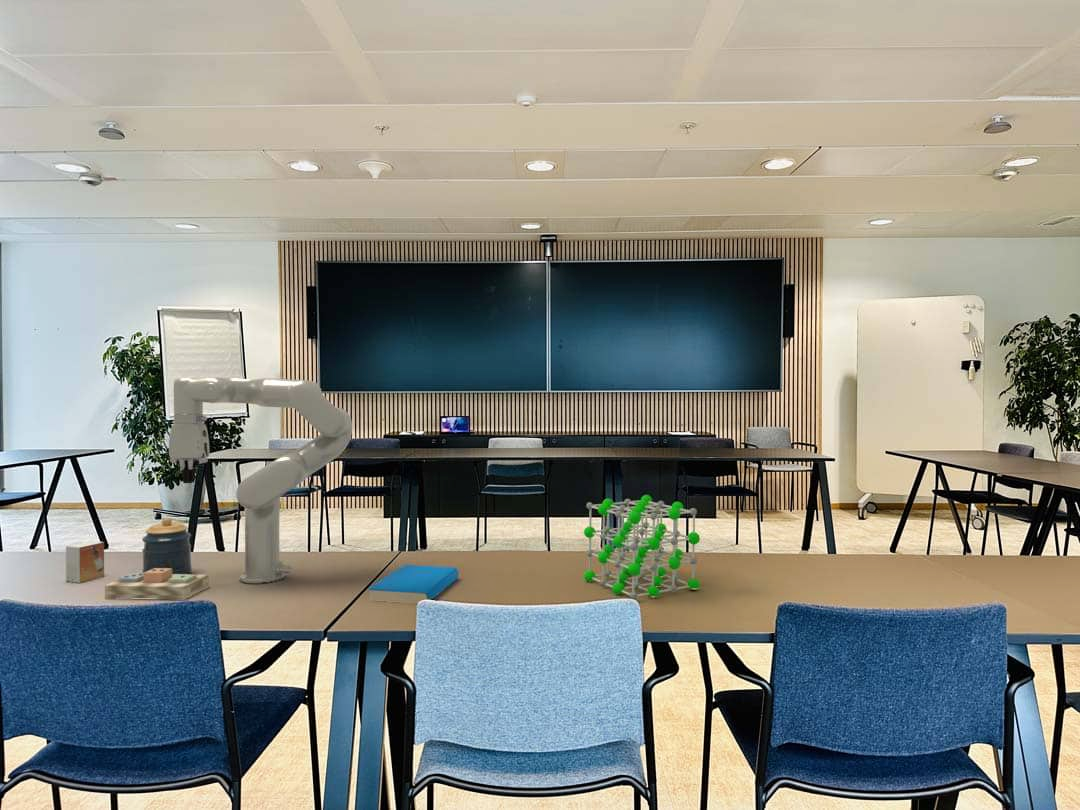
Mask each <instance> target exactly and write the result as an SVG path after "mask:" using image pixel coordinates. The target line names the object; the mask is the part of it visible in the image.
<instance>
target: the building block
mask: <svg viewBox="0 0 1080 810" xmlns="http://www.w3.org/2000/svg"><path fill="white" fill-rule="evenodd" d="M118 580H119V582H128V583H137V582H140V581H142V580H144V574H143V573H138V574H137V573H132V572H131V573H129V574H127V575H126V574H125V575H124V576H121V577H119V578H118Z"/></svg>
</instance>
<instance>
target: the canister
mask: <svg viewBox="0 0 1080 810" xmlns="http://www.w3.org/2000/svg"><path fill="white" fill-rule="evenodd" d="M188 529H189V527H188V526H187V525H185V524H183V523H181V522H173V521H172V519H171V518H170V517H164V518H163V519H162V520H161V523H156V524H153V525H151V526H150V527H148V528H147V529H145V533H146V535H145V536H143V537H142V542H143V546H144V547H143V548H142V551H141V552H142V574H144V572H147V571H149V570H152V569H154V568H172V574H191V571H192V559H191V558H192V557H191V556H192V553H191V552H192V551H191V549H192V548H191V547H192V545H191V543H190V538H191V536H192V534H191V533H190V532H188V531H187V530H188Z"/></svg>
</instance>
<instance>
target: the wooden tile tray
mask: <svg viewBox="0 0 1080 810" xmlns="http://www.w3.org/2000/svg"><path fill="white" fill-rule="evenodd" d="M137 574H139V572H138V573H137ZM177 575H179V574H172V577H174V576H177ZM190 575H196V579H195V580H193V581H191V582H189V583H187V584H183V583H168V580H167V581H165V582H163V583H144V580H142V581H140V582H137V583H128V582H119V579H117V580H115V581H112V582H109V583H108V584H105V585H104V599H106V600H117V599H116V598H122V599H121V600H133V599H132V598H157V599H169V600H168V601H185V600H187V599H186V598H187V597H189V596H191V595H193V596H195V595H197V594H198V592H199V593H201V592H203V591H204V590H206V589H208V588H209V587H210V586H209V585H210V584H209V583H210V582H209V580H210V579H209V574H193V573H192V574H191V573H190ZM207 587H208V588H207ZM205 588H206V589H205ZM202 590H203V591H202ZM200 591H201V592H200ZM196 593H197V594H196ZM194 594H195V595H194ZM191 597H192V596H191ZM123 598H124V599H123ZM125 598H126V599H125ZM130 598H131V599H130ZM189 598H190V597H189Z"/></svg>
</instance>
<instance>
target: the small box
mask: <svg viewBox="0 0 1080 810" xmlns="http://www.w3.org/2000/svg"><path fill="white" fill-rule="evenodd" d="M65 574H66V575H65V581H66V582H67V581H69V583H76V582H77V583H78V584H80V583H84V582H87V581H91V580H95V578H96V579H99V577H100V578H104V577H105V542H104V541H98V540H97V541H96V540H95V541H94V540H88V541H85V542H80V543H76V544H72V545H66V546H65ZM103 576H104V577H103Z"/></svg>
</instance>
